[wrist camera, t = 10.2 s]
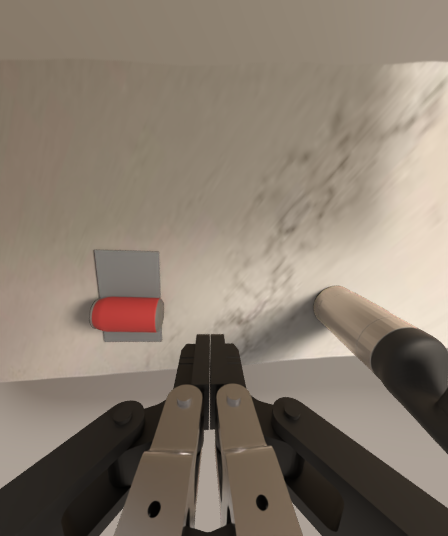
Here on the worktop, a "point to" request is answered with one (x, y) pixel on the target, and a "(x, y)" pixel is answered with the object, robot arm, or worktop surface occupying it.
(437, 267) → the worktop surface
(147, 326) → the beer can
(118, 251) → the slate mat
